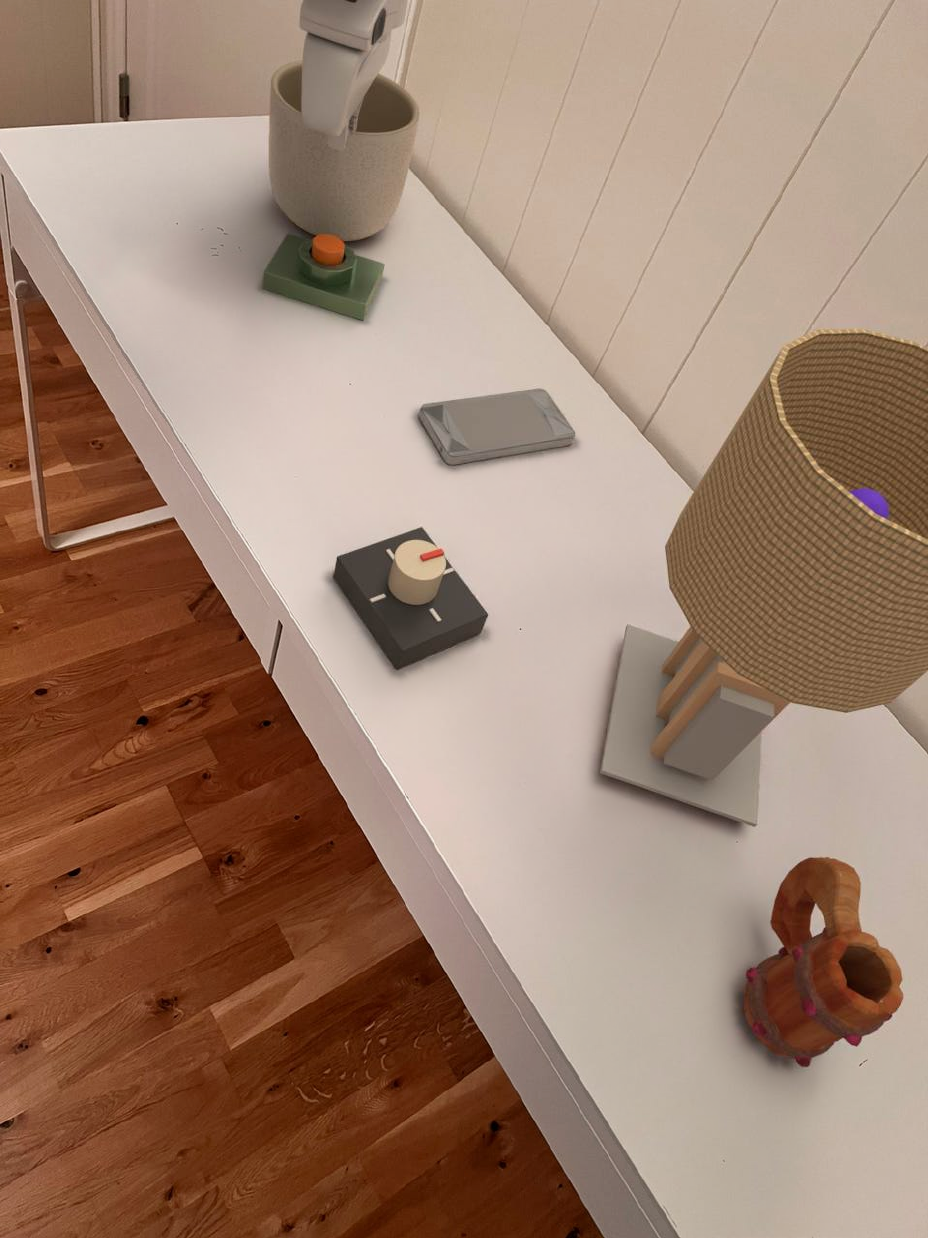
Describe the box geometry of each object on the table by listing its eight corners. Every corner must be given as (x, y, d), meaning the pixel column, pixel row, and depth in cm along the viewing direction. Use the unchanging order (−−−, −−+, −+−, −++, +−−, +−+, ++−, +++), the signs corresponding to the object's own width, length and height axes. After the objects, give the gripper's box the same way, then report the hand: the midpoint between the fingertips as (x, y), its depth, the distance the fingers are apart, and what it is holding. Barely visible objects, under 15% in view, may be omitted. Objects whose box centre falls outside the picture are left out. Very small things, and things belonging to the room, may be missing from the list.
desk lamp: (590, 613, 85) (774, 290, 58) (783, 681, 86) (1056, 393, 58) (552, 790, 73) (763, 487, 46) (777, 869, 74) (1119, 616, 46)
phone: (575, 445, 99) (578, 436, 98) (446, 467, 93) (449, 458, 92) (541, 395, 103) (544, 387, 102) (415, 413, 96) (417, 404, 95)
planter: (424, 236, 117) (449, 117, 106) (327, 273, 108) (343, 147, 96) (334, 170, 122) (349, 49, 110) (234, 200, 112) (239, 71, 100)
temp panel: (332, 577, 81) (337, 555, 78) (415, 547, 85) (422, 525, 83) (396, 670, 76) (403, 650, 74) (480, 634, 81) (489, 613, 78)
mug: (828, 1077, 64) (941, 1037, 55) (741, 1071, 63) (840, 1030, 54) (792, 907, 72) (886, 846, 62) (714, 899, 71) (796, 835, 61)
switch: (307, 259, 102) (309, 245, 101) (316, 244, 104) (318, 230, 103) (338, 269, 102) (340, 255, 101) (346, 253, 105) (348, 240, 103)
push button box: (262, 288, 103) (264, 257, 100) (286, 249, 109) (288, 218, 106) (363, 320, 104) (368, 290, 101) (381, 279, 110) (387, 250, 106)
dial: (403, 611, 77) (411, 583, 74) (379, 573, 78) (386, 545, 75) (446, 596, 79) (456, 569, 76) (422, 559, 80) (430, 531, 77)
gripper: (355, -58, 88) (338, 89, 99) (293, 14, 76) (282, 173, 87) (417, -36, 89) (394, 107, 100) (366, 38, 76) (345, 194, 87)
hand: (341, 139), depth 93 cm, fingers closed
